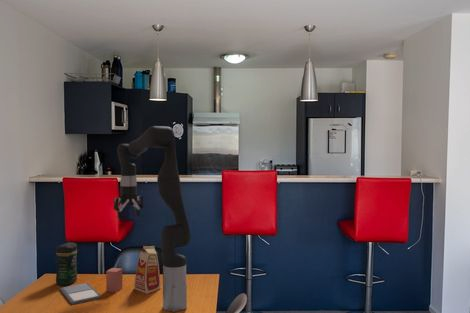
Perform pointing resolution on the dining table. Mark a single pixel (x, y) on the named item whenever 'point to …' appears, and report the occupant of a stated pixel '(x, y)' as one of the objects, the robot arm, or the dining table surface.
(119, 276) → the pink rectangular block
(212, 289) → the dining table surface
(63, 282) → the coffee jar
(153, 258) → the milk carton
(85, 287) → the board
